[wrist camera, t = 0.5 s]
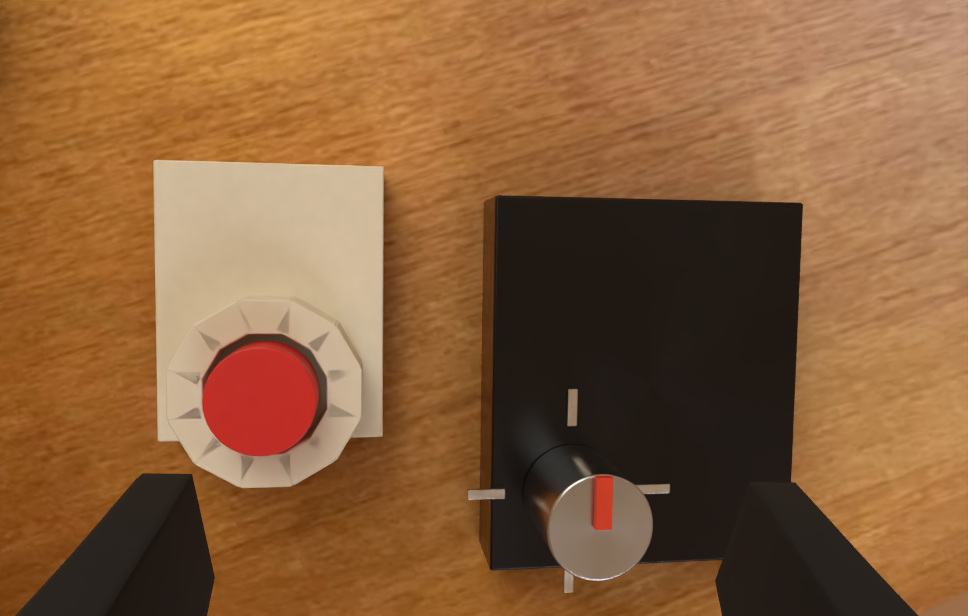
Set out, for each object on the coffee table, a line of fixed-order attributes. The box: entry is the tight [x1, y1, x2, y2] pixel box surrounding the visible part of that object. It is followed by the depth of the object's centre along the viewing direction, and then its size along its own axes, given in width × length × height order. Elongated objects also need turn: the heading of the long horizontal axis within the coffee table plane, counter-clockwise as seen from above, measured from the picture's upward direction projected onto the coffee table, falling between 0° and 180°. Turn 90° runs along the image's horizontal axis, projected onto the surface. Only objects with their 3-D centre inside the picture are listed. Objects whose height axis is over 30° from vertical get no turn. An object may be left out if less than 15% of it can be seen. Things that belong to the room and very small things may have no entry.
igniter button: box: [202, 341, 320, 456], centre depth 26 cm, size 4×4×2 cm
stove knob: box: [524, 445, 653, 581], centre depth 27 cm, size 4×4×4 cm
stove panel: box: [467, 195, 803, 593], centre depth 31 cm, size 15×13×3 cm
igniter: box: [153, 160, 384, 488], centre depth 28 cm, size 11×8×4 cm
